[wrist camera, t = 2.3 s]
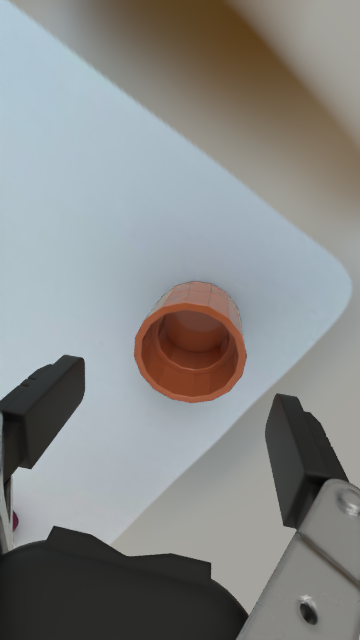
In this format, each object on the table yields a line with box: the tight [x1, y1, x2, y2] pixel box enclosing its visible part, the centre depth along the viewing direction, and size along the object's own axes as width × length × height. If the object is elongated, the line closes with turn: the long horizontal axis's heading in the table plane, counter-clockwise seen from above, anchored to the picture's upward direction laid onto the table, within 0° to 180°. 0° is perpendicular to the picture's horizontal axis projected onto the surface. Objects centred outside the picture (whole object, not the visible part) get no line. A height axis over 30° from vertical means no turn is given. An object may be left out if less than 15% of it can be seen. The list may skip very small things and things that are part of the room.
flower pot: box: [134, 281, 247, 403], centre depth 16 cm, size 6×6×5 cm
